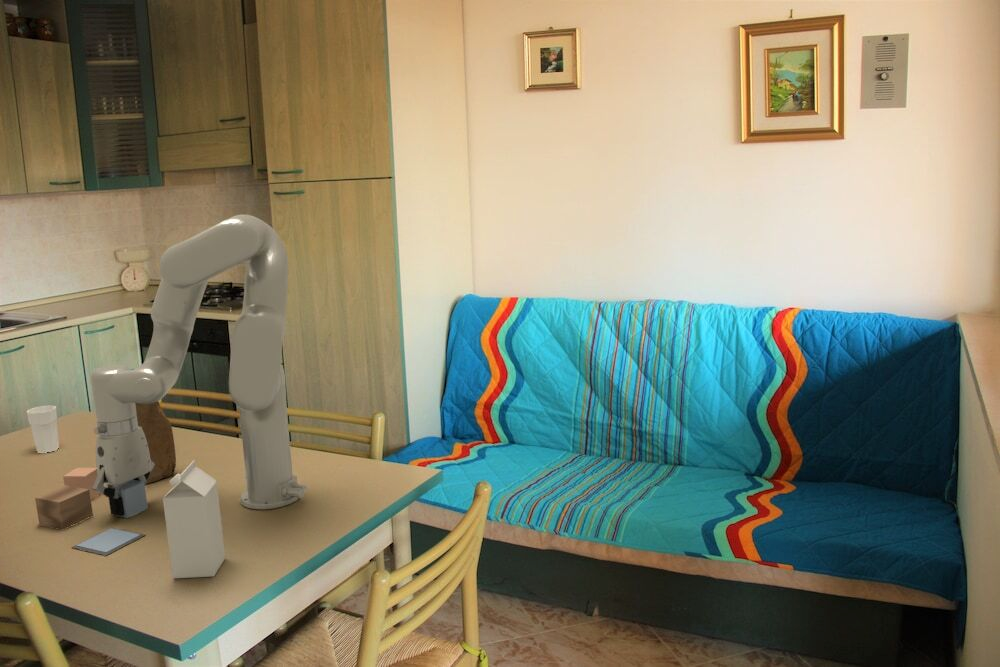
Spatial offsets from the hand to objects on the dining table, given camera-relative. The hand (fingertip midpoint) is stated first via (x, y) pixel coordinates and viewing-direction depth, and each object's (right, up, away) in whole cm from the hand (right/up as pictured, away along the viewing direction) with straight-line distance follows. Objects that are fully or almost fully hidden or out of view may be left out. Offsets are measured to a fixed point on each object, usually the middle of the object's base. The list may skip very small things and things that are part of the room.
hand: (129, 508), depth 174 cm
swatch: (+2, -3, -14) cm, 14 cm away
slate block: (0, -1, 0) cm, 1 cm away
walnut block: (-11, -2, -3) cm, 12 cm away
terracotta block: (-14, +1, +9) cm, 16 cm away
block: (-3, +3, +19) cm, 19 cm away
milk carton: (+24, -5, -26) cm, 36 cm away
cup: (-39, +6, +41) cm, 57 cm away
